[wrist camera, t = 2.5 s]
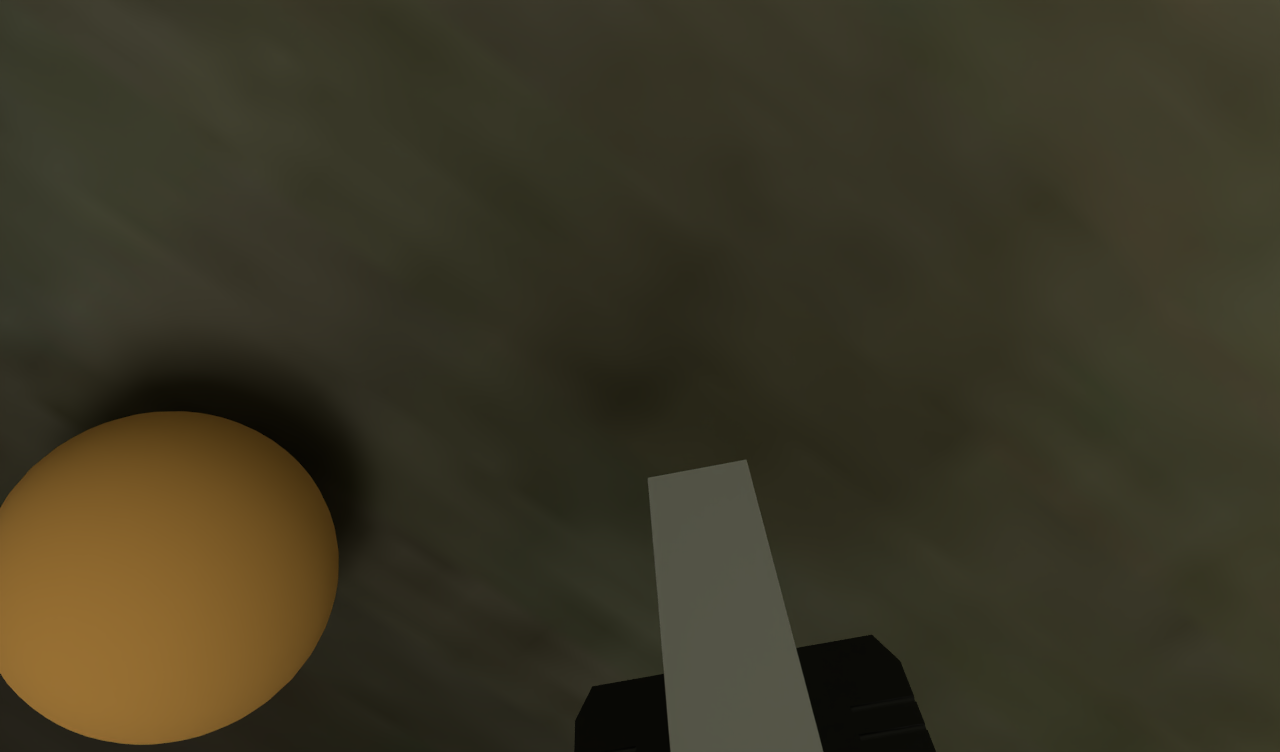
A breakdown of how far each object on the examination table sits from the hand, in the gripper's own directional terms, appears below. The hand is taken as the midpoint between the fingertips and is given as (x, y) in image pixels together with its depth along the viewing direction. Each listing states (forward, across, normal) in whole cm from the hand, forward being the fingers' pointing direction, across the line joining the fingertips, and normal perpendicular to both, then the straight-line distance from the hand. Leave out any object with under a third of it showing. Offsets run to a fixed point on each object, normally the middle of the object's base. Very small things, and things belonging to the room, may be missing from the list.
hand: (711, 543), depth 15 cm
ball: (+3, +10, 0) cm, 10 cm away
